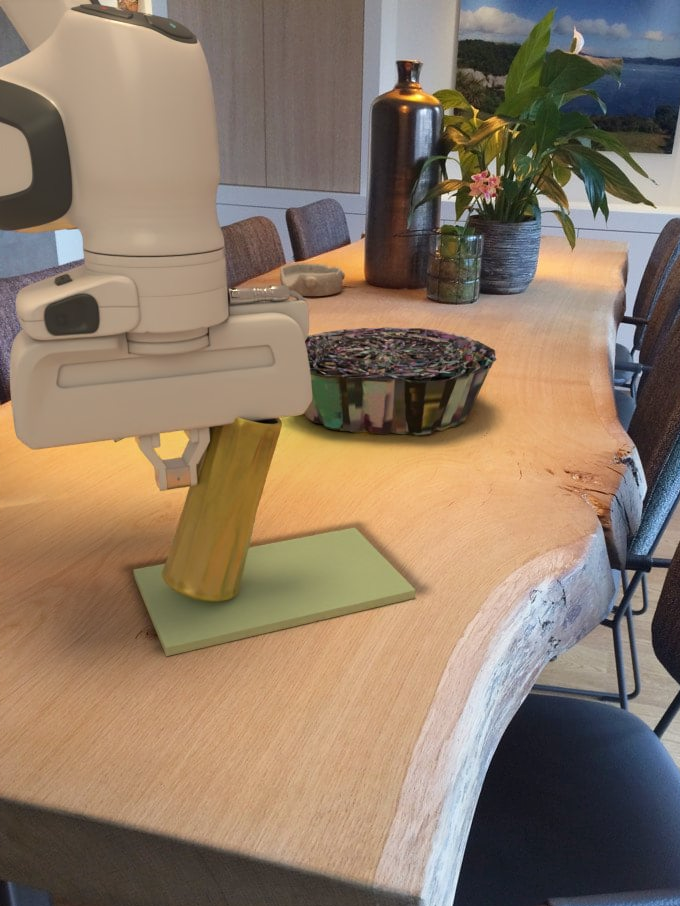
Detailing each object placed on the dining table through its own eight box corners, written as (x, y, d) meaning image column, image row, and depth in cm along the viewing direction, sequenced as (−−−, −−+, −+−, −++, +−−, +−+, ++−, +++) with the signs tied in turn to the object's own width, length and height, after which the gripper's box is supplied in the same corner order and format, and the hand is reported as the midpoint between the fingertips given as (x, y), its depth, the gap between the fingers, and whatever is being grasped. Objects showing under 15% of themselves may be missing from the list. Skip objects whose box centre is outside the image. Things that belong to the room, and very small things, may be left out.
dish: (318, 301, 171) (318, 276, 168) (266, 292, 177) (265, 268, 175) (357, 290, 182) (358, 267, 180) (307, 282, 188) (307, 260, 186)
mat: (166, 656, 59) (165, 647, 58) (134, 577, 68) (133, 569, 68) (415, 598, 67) (416, 589, 66) (354, 534, 76) (355, 527, 76)
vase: (214, 611, 61) (266, 431, 57) (145, 578, 62) (190, 400, 58) (251, 587, 67) (301, 421, 63) (187, 558, 68) (231, 394, 64)
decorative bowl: (512, 457, 99) (527, 377, 95) (282, 449, 94) (287, 364, 90) (458, 392, 122) (468, 325, 118) (271, 383, 117) (274, 313, 113)
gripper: (293, 275, 61) (297, 450, 67) (-10, 293, 53) (25, 491, 59) (324, 290, 56) (326, 479, 61) (-6, 313, 48) (32, 528, 54)
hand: (177, 485), depth 60 cm, fingers closed
